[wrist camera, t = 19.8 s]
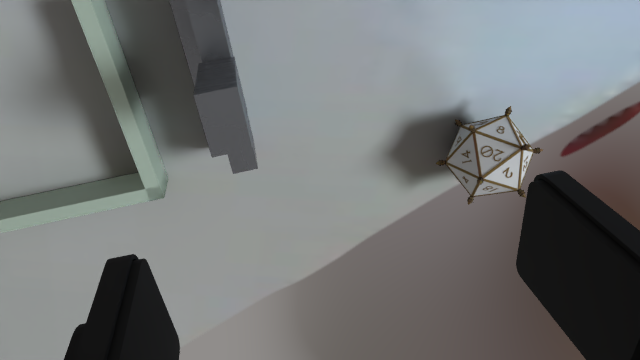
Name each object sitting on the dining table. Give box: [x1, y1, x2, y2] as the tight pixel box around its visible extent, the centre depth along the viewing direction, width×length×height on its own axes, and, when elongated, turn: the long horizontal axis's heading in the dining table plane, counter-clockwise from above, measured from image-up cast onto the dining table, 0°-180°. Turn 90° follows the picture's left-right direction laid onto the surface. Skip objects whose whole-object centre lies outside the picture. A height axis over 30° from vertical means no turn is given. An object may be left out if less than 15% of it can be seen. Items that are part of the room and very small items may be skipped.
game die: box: [436, 106, 542, 204], centre depth 43 cm, size 9×8×10 cm
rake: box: [169, 0, 258, 174], centre depth 33 cm, size 4×14×13 cm, turn 9°
